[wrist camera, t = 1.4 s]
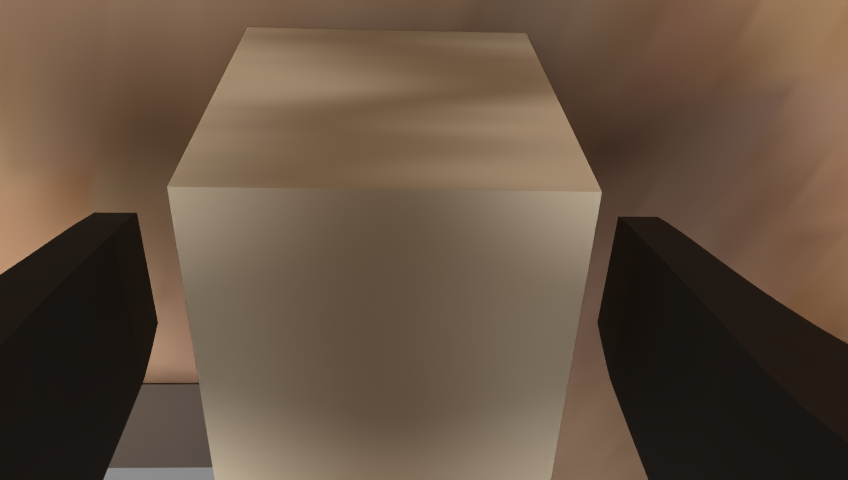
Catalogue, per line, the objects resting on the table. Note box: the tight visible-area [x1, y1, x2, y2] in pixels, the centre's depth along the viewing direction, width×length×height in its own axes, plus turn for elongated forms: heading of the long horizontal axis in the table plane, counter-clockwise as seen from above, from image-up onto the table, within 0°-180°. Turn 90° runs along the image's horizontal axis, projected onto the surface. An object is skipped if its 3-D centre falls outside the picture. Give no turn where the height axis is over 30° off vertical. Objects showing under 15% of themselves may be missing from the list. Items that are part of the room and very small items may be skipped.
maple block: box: [167, 27, 602, 480], centre depth 13 cm, size 5×5×6 cm
